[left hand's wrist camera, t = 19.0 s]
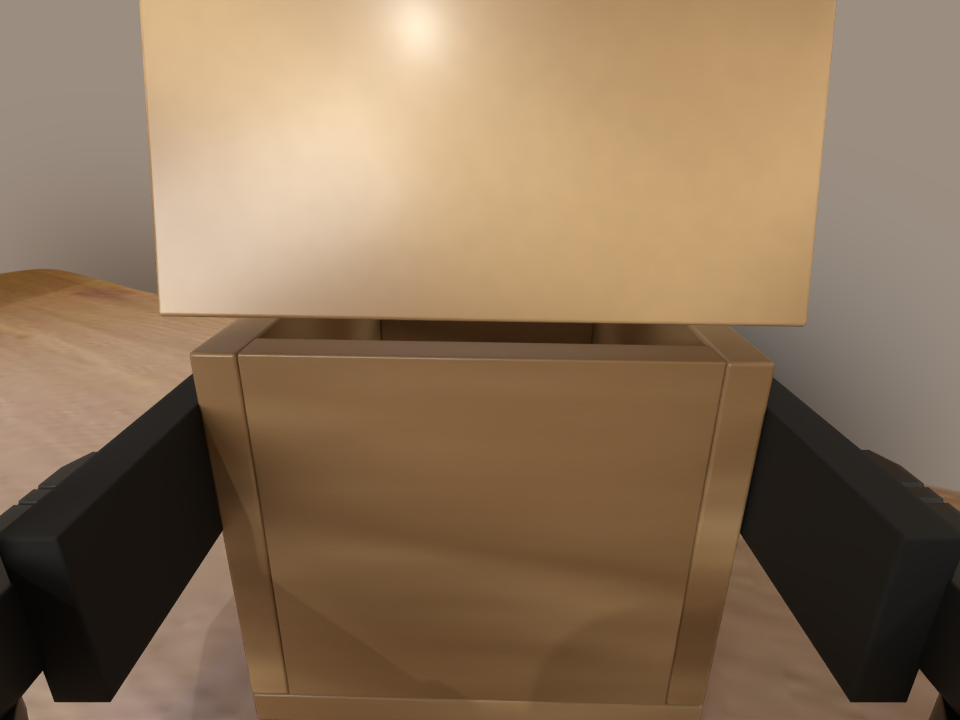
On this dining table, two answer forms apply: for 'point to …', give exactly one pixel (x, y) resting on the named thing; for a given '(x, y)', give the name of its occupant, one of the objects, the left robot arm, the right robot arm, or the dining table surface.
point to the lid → (487, 158)
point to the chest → (480, 512)
